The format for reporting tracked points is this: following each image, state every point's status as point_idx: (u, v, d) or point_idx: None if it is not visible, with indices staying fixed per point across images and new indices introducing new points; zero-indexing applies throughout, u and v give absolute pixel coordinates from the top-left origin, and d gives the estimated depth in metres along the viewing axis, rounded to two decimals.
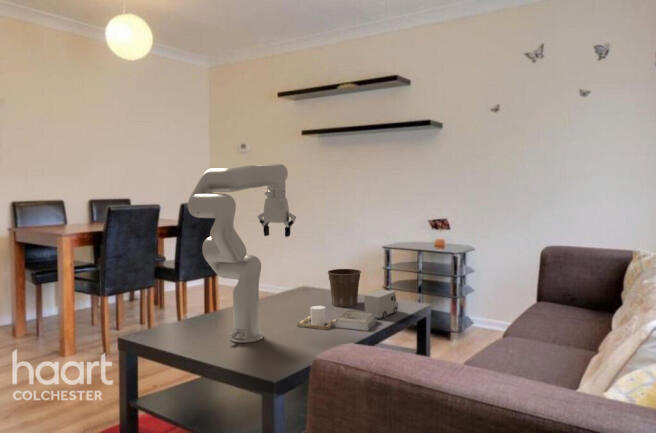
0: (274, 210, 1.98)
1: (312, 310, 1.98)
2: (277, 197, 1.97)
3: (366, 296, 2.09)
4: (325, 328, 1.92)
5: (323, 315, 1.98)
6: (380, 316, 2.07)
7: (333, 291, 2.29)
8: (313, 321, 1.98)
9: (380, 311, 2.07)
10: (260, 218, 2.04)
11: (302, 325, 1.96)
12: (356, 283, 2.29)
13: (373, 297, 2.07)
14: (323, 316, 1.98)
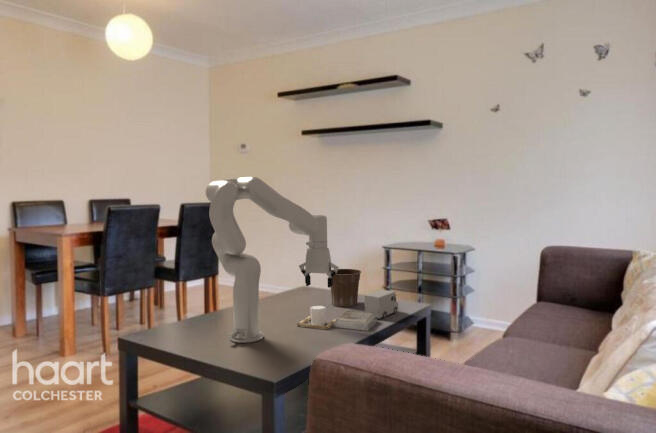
0: (316, 261, 1.96)
1: (312, 310, 1.98)
2: (319, 248, 1.95)
3: (366, 296, 2.09)
4: (325, 328, 1.92)
5: (323, 315, 1.98)
6: (380, 316, 2.07)
7: (333, 291, 2.29)
8: (313, 321, 1.98)
9: (380, 311, 2.07)
10: (301, 268, 2.01)
11: (302, 325, 1.96)
12: (356, 283, 2.29)
13: (373, 297, 2.07)
14: (323, 316, 1.98)
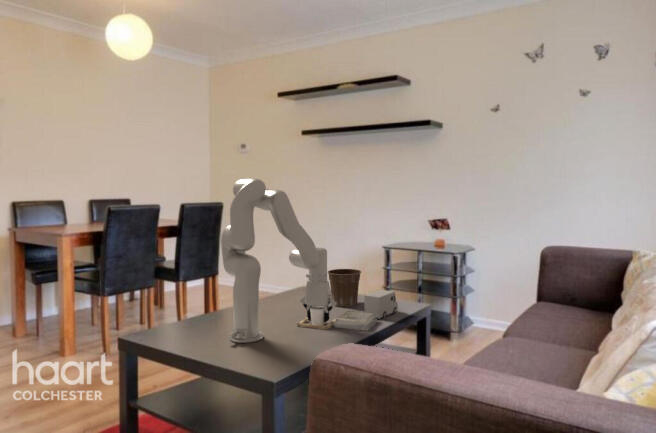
0: (316, 294, 1.97)
1: (312, 310, 1.98)
2: (319, 281, 1.96)
3: (366, 296, 2.09)
4: (325, 328, 1.92)
5: (323, 315, 1.98)
6: (380, 316, 2.06)
7: (333, 291, 2.29)
8: (313, 321, 1.98)
9: (380, 311, 2.07)
10: (303, 302, 2.02)
11: (302, 325, 1.96)
12: (356, 283, 2.29)
13: (373, 297, 2.07)
14: (323, 316, 1.98)
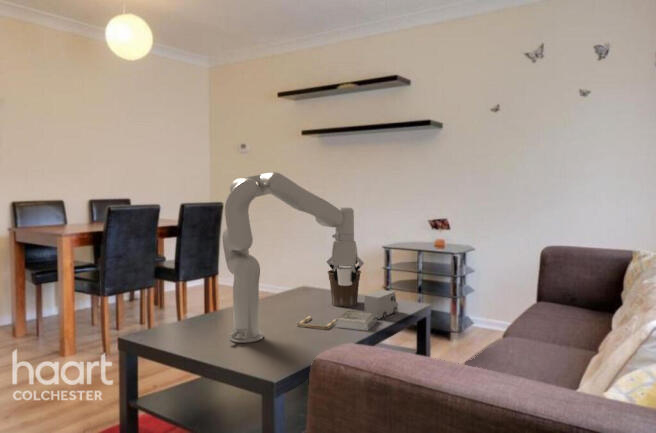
0: (343, 253, 1.95)
1: (339, 270, 1.96)
2: (347, 240, 1.94)
3: (366, 296, 2.09)
4: (325, 328, 1.92)
5: (350, 275, 1.97)
6: (380, 316, 2.06)
7: (333, 291, 2.29)
8: (340, 281, 1.97)
9: (380, 311, 2.06)
10: (329, 263, 2.00)
11: (302, 325, 1.96)
12: (356, 283, 2.29)
13: (373, 297, 2.07)
14: (350, 276, 1.97)
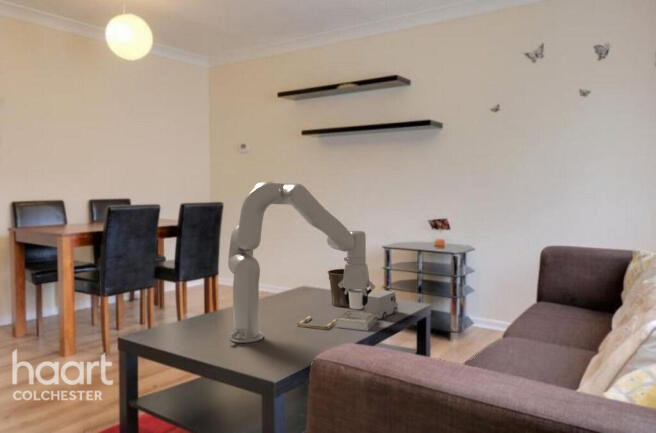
0: (355, 277, 1.96)
1: (351, 293, 1.96)
2: (358, 264, 1.94)
3: None
4: (325, 328, 1.92)
5: (362, 298, 1.97)
6: (380, 316, 2.06)
7: (333, 291, 2.29)
8: (352, 304, 1.97)
9: (380, 311, 2.06)
10: (341, 286, 2.01)
11: (302, 325, 1.96)
12: None
13: (373, 297, 2.07)
14: (362, 299, 1.97)
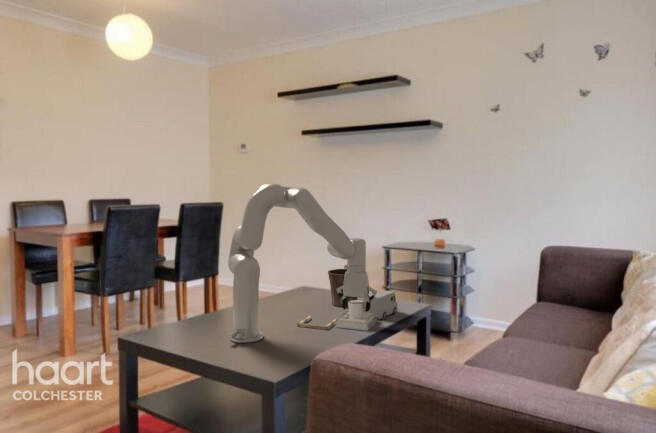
0: (355, 285, 1.96)
1: (350, 304, 1.97)
2: (358, 272, 1.95)
3: None
4: (325, 328, 1.92)
5: (361, 309, 1.97)
6: (380, 316, 2.06)
7: (333, 291, 2.29)
8: (351, 315, 1.97)
9: (380, 311, 2.06)
10: (339, 291, 2.01)
11: (302, 325, 1.96)
12: None
13: None
14: (361, 310, 1.97)
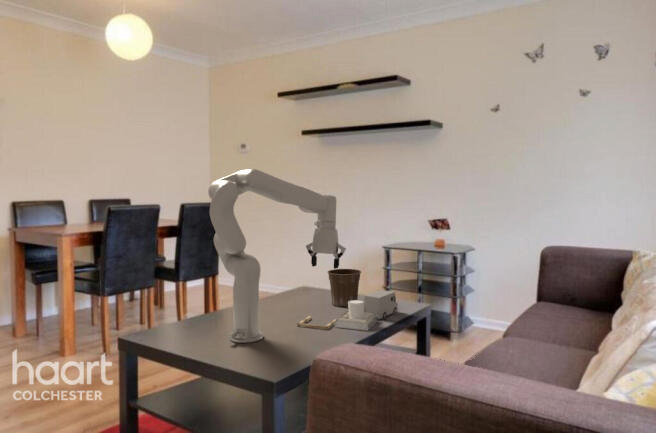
0: (324, 241, 1.95)
1: (350, 304, 1.97)
2: (327, 228, 1.94)
3: (366, 297, 2.08)
4: (325, 328, 1.92)
5: (361, 309, 1.97)
6: (380, 317, 2.06)
7: (333, 291, 2.29)
8: (351, 315, 1.97)
9: (380, 311, 2.06)
10: (308, 248, 2.00)
11: (302, 325, 1.96)
12: (356, 283, 2.29)
13: (373, 298, 2.06)
14: (361, 310, 1.97)
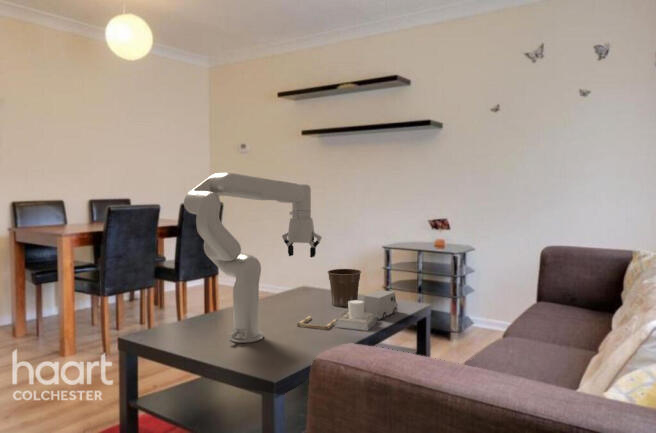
0: (299, 230, 1.95)
1: (350, 304, 1.97)
2: (302, 217, 1.93)
3: (366, 297, 2.08)
4: (325, 328, 1.92)
5: (361, 309, 1.97)
6: (380, 317, 2.06)
7: (333, 291, 2.29)
8: (351, 315, 1.97)
9: (380, 312, 2.06)
10: (284, 238, 2.00)
11: (302, 325, 1.96)
12: (356, 283, 2.29)
13: (373, 298, 2.06)
14: (361, 310, 1.97)
